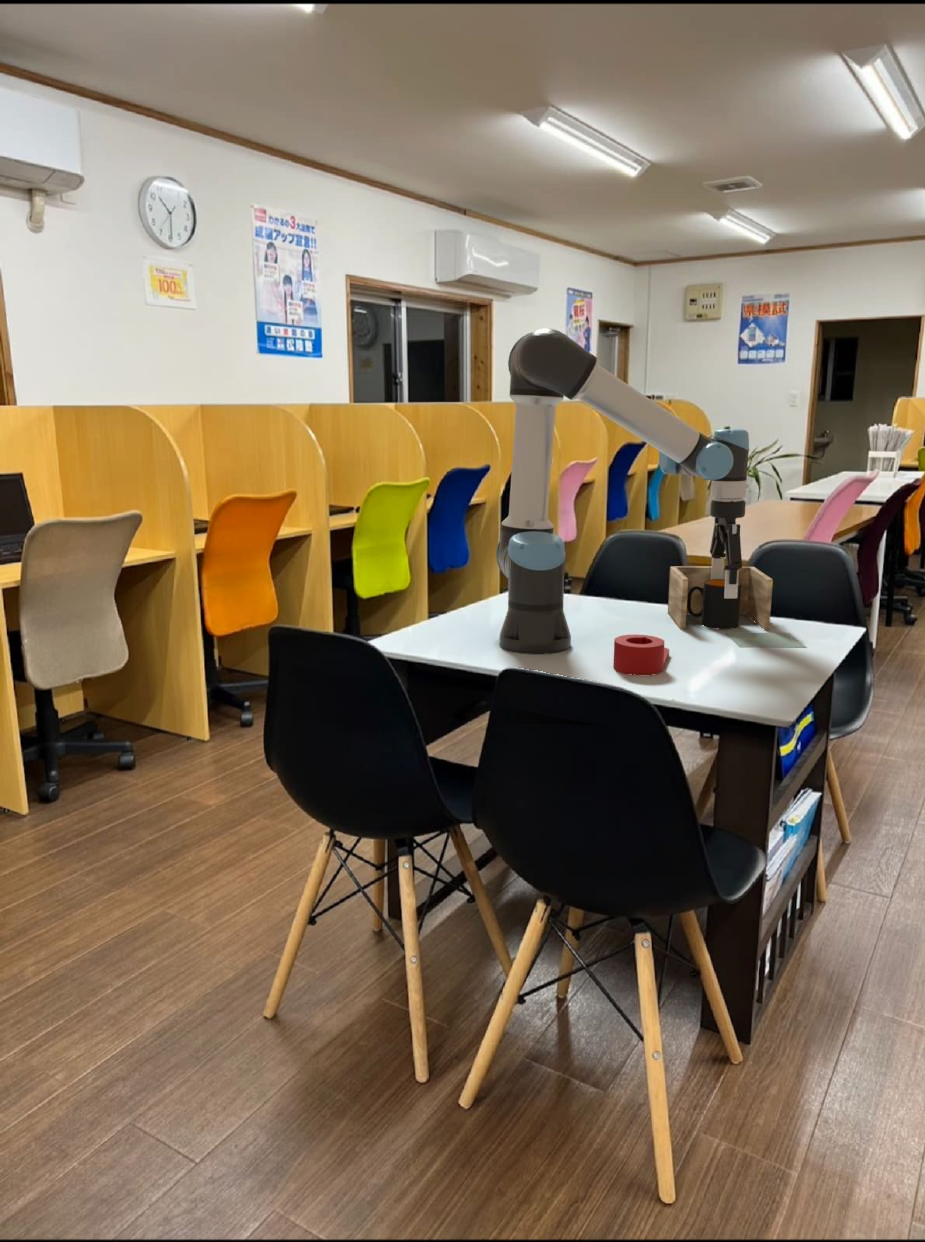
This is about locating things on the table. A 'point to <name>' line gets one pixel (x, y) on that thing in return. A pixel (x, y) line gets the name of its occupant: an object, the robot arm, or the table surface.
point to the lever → (639, 654)
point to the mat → (765, 640)
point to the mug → (717, 605)
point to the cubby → (752, 580)
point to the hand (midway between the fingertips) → (723, 591)
